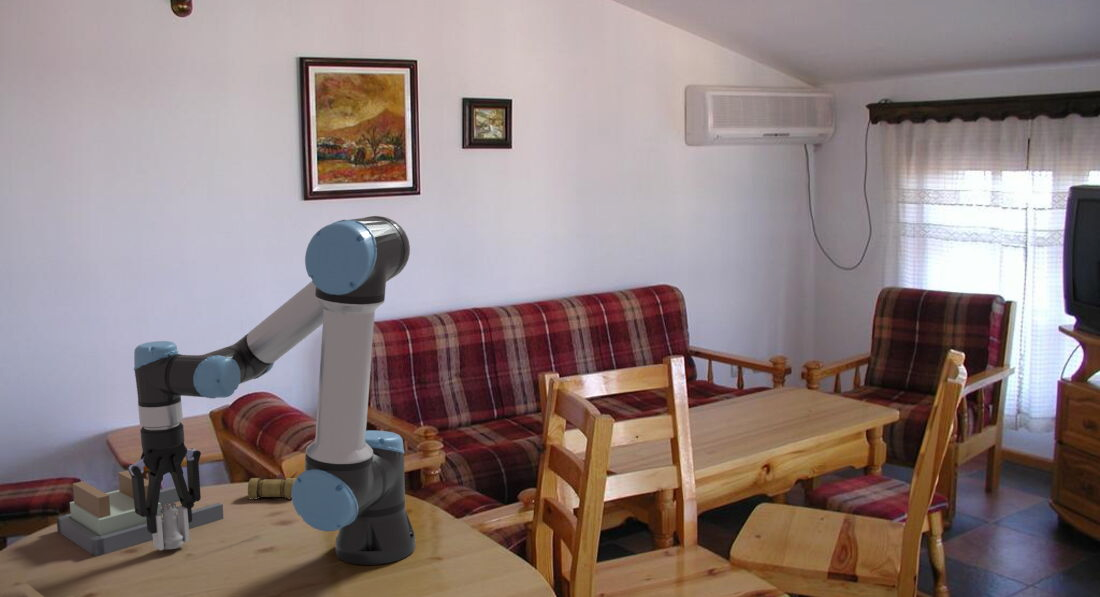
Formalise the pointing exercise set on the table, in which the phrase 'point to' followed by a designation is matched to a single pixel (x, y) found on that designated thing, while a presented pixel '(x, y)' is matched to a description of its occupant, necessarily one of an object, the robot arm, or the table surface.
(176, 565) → the table surface
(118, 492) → the mint green base plate
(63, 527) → the bay
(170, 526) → the rook chess piece
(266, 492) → the gavel
